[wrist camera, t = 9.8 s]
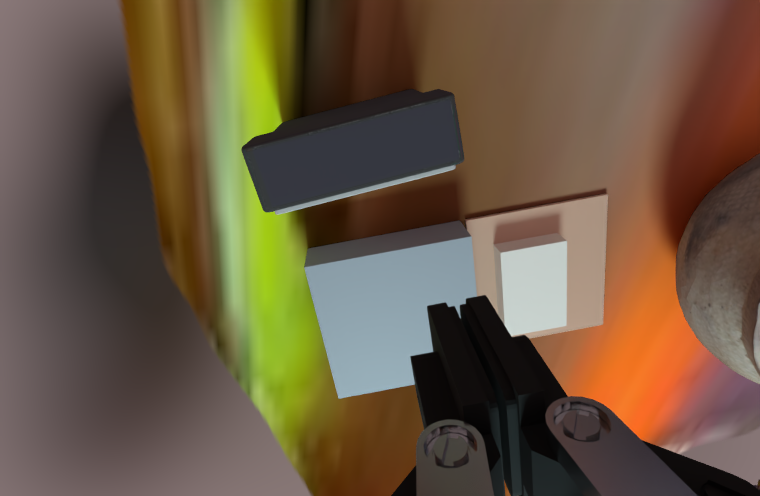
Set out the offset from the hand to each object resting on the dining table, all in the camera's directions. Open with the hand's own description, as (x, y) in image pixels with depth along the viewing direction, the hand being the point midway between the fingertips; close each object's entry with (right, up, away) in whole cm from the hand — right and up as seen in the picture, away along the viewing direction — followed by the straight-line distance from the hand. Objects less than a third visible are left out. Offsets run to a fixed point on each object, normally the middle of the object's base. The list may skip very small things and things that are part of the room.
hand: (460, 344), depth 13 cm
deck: (-1, -2, +30) cm, 31 cm away
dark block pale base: (-5, +13, +24) cm, 28 cm away
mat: (+13, 0, +31) cm, 33 cm away
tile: (+12, -1, +28) cm, 31 cm away
